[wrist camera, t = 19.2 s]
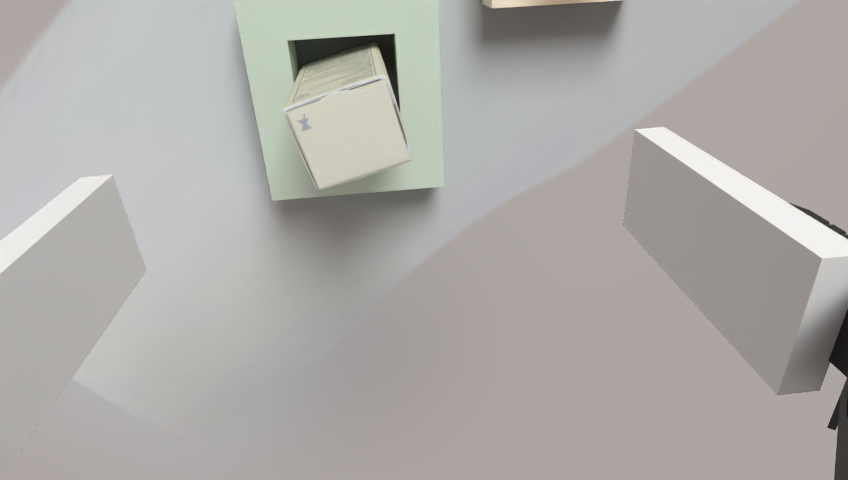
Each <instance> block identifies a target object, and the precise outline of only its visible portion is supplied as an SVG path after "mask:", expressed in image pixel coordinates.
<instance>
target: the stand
mask: <svg viewBox="0 0 848 480" xmlns="http://www.w3.org/2000/svg"><path fill="white" fill-rule="evenodd" d="M604 1H620V0H481V4H483V5H485V6H487V7H490V8H507V7H523V6H539V5H555V4H572V3H588V2H604Z"/></svg>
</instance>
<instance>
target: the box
mask: <svg viewBox="0 0 848 480" xmlns="http://www.w3.org/2000/svg"><path fill="white" fill-rule="evenodd" d="M283 114H284V117H285V119H286V121H287V124H288V126H289V129H290V131H291V134H292V136H293V138H294V141H295V143H296V145H297V148H298V150H299V152H300V154H301V157H302V159H303V161H304V163H305V166H306V168H307V170H308V172H309V174H310V176H311V178H312V180H313V182H314V185H315V187H316V188H317V189H318V190H322V189H326V188H329V187H333V186H336V185H340V184H343V183H346V182H350V181H353V180H356V179H359V178H362V177H365V176H368V175H371V174H375V173H377V172H380V171H383V170H386V169H389V168H392V167H395V166H398V165H401V164H403V163H407V162H410V161H411V160H412V154H411V150H410V147H409V143H408V140H407V136H406V132H405V129H404V125H403V122H402V118H401V115H400V112H399V108H398V105H397V102H396V99H395V96H394V92H393V89H392V86H391V83H390V80H389V77H388V73H387V70H386V67H385V64H384V61H383V58H382V55H381V52H380V49H379V46H378V44H377V43H375V42H372V43H368V44H365V45H361V46H358V47H355V48H351V49H348V50H345V51H342V52H339V53H337V54H334V55H331V56H328V57H325V58H322V59H319V60H316V61H314V62H311V63H308V64H306V65H303V66H302V67H301V69H300V71H299V74H298V76H297V78H296V81H295V83H294V85H293V87H292V90H291V92H290V94H289V96H288V99H287V101H286V103H285V105H284V108H283Z"/></svg>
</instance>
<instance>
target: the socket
mask: <svg viewBox="0 0 848 480" xmlns="http://www.w3.org/2000/svg"><path fill="white" fill-rule="evenodd" d="M233 3H234V8H235V13H236V18H237V23H238V29H239V34H240V39H241V44H242V49H243V54H244V59H245V64H246V70H247V75H248V80H249V85H250V90H251V95H252V100H253V105H254V111H255V116H256V121H257V126H258V131H259V136H260V141H261V146H262V152H263V157H264V162H265V167H266V172H267V177H268V182H269V187H270V193H271V198H272V201H276V200H288V199H300V198H312V197H324V196H336V195H348V194H360V193H373V192H385V191H397V190H409V189H421V188H433V187H444V166H443V135H442V105H441V74H440V44H439V13H438V0H233ZM382 34H393V42H394V56H395V71H396V85H397V99H398V108H399V112H400V115H401V118H402V122H403V125H404V129H405V132H406V136H407V140H408V143H409V147H410V150H411V154H412V160H411V161H410V162H407V163H403V164H401V165H398V166H395V167H392V168H389V169H386V170H383V171H380V172H377V173H375V174H371V175H368V176H365V177H362V178H359V179H356V180H353V181H350V182H346V183H343V184H340V185H336V186H333V187H329V188H326V189H322V190H318V189H317V188H316V187H315V185H314V182H313V180H312V178H311V176H310V174H309V172H308V170H307V168H306V166H305V163H304V161H303V159H302V157H301V154H300V152H299V150H298V148H297V145H296V143H295V141H294V138H293V136H292V134H291V131H290V129H289V126H288V124H287V121H286V119H285V117H284V114H283V108H284V105H285V103H286V101H287V99H288V96H289V94H290V92H291V90H292V87H293V85H294V83H295V81H296V78H297V76H298V74H299V68H298V62H297V55H296V48H295V42H294V40H304V39H319V38H335V37H351V36H366V35H382Z"/></svg>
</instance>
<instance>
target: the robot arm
mask: <svg viewBox="0 0 848 480" xmlns="http://www.w3.org/2000/svg"><path fill="white" fill-rule="evenodd" d="M623 226H624V227H625V228H626V229H627V230H628V231H629V233H630V234H631V235H632V236H633V237H634V238H635V239H636V240H637V241H638V242H639V244H640V245H641V246H642V247H643V248H644V249H645V250H646V251H647V252H648V253H649V255H650V256H651V257H652V258H653V259H654V260H655V261H656V262H657V263H658V264H659V266H660V267H661V268H662V269H663V270H664V271H665V272H666V273H667V274H668V275H669V277H670V278H671V279H672V280H673V281H674V282H675V283H676V284H677V285H678V286H679V288H680V289H681V290H682V291H683V292H684V293H685V294H686V295H687V296H688V297H689V299H690V300H691V301H692V302H693V303H694V304H695V305H696V306H697V307H698V308H699V310H700V311H701V312H702V313H703V314H704V315H705V316H706V317H707V318H708V319H709V321H710V322H711V323H712V324H713V325H714V326H715V327H716V328H717V329H718V330H719V331H720V333H721V334H722V335H723V336H724V337H725V338H726V339H727V340H728V341H729V343H730V344H731V345H732V346H733V347H734V348H735V349H736V350H737V351H738V353H740V355H741V356H742V357H743V358H744V359H745V360H746V361H747V362H748V364H750V366H751V367H752V368H753V369H754V370H755V371H756V372H757V373H758V374H759V375H760V377H761V378H762V379H763V380H764V381H765V382H766V383H767V384H768V385H769V387H770V388H771V389H772V390H773V391H774V392H775V393H776V394H777V395H783V394H792V393H801V392H810V391H819V390H820V388H821V385H822V382H823V380H824V377H825V374H826V372H827V369H828V366H829V364H830V362H831V363H832V364H833V365H834V366H835V367H836V368H838V369H839V370H840V371H841V372H842V373H843V374H844V375H845V376H846V377H847V380H846V383H845V385H844V388H843V390H842V392H841V395H840V397H839V400H838V402H837V405H836V407H835V410H834V412H833V415H832V417H831V420H830V422H829V425H828V428H830V429H833V430H836V428H837V426H838V435H837V450H836V464H835V477H834V480H848V235H846V232H845V231H843V230H842V229H840V228H838V227H837V226H835V225H830V224H829V222H828V221H827V220H825V219H823V218H822V217H820V216H818V215H817V214H815V213H813V212H812V211H810V210H807V209H805V208H801V207H799V206H796V205H793V204H791V203H788V202H786V201H784V200H782V199H781V198H779V197H777V196H776V195H774V194H773V193H771V192H769V191H768V190H766V189H764V188H763V187H761V186H759V185H758V184H756V183H755V182H753V181H751V180H750V179H748V178H746V177H745V176H743V175H741V174H739V173H738V172H737V171H735V170H733V169H732V168H730V167H728V166H727V165H725V164H724V163H722V162H720V161H719V160H717V159H715V158H713V157H712V156H710V155H709V154H707V153H706V152H704V151H702V150H701V149H699V148H697V147H696V146H694V145H692V144H691V143H689V142H687V141H686V140H684V139H683V138H681V137H679V136H677V135H676V134H674V133H673V132H671V131H670V130H668V129H666V128H665V127H659V128H648V129H636V130H635V133H634V141H633V149H632V157H631V165H630V173H629V181H628V189H627V197H626V205H625V212H624V220H623ZM145 272H146V268H145V265H144V262H143V259H142V257H141V254H140V251H139V248H138V245H137V242H136V240H135V237H134V234H133V231H132V228H131V225H130V223H129V220H128V217H127V214H126V211H125V208H124V206H123V203H122V200H121V197H120V194H119V191H118V189H117V186H116V183H115V180H114V177H113V175H104V176H93V177H81V178H79V179H78V180H77V181H76V182H74V183H73V184H72V185H71V186H69V187H68V188H67V189H66V190H64V191H63V192H62V193H61V194H59V195H58V196H57V197H56V198H54V199H53V200H52V201H50V202H49V203H48V204H47V205H45V206H44V207H43V208H42V209H40V210H39V211H38V212H37V213H35V214H34V215H33V216H32V217H30V218H29V219H28V220H27V221H25V222H24V223H23V224H21V225H20V226H19V227H18V228H16V229H15V230H14V231H13V232H11V233H10V234H9V235H8V236H6V237H5V238H4V239H3V240H1V241H0V480H1V479H2V478H3V476H4V475H5V474H6V472H7V471H8V469H9V468H10V466H11V465H12V463H13V462H14V460H15V459H16V458H17V456H18V455H19V453H20V452H21V450H22V449H23V448H24V446H25V445H26V443H27V442H28V440H29V439H30V438H31V436H32V434H33V433H34V432H35V430H36V429H37V427H38V426H39V425H40V423H41V422H42V420H43V419H44V417H45V416H46V414H47V413H48V412H49V410H50V409H51V407H52V405H53V404H54V403H55V401H56V400H57V398H58V397H59V396H60V394H61V393H62V391H63V390H64V389H65V387H66V386H67V384H68V383H69V381H70V380H71V378H72V377H73V376H74V374H75V373H76V371H77V370H78V368H79V367H80V365H81V364H82V363H83V361H84V360H85V358H86V357H87V355H88V354H89V353H90V351H91V350H92V348H93V347H94V345H95V344H96V342H97V341H98V340H99V338H100V337H101V335H102V334H103V332H104V331H105V329H106V328H107V327H108V325H109V324H110V322H111V321H112V319H113V318H114V316H115V315H116V314H117V312H118V311H119V309H120V308H121V306H122V305H123V304H124V302H125V301H126V299H127V298H128V296H129V295H130V293H131V292H132V291H133V289H134V288H135V286H136V285H137V283H138V282H139V280H140V279H141V278H142V276H143V275H144V273H145Z"/></svg>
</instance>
